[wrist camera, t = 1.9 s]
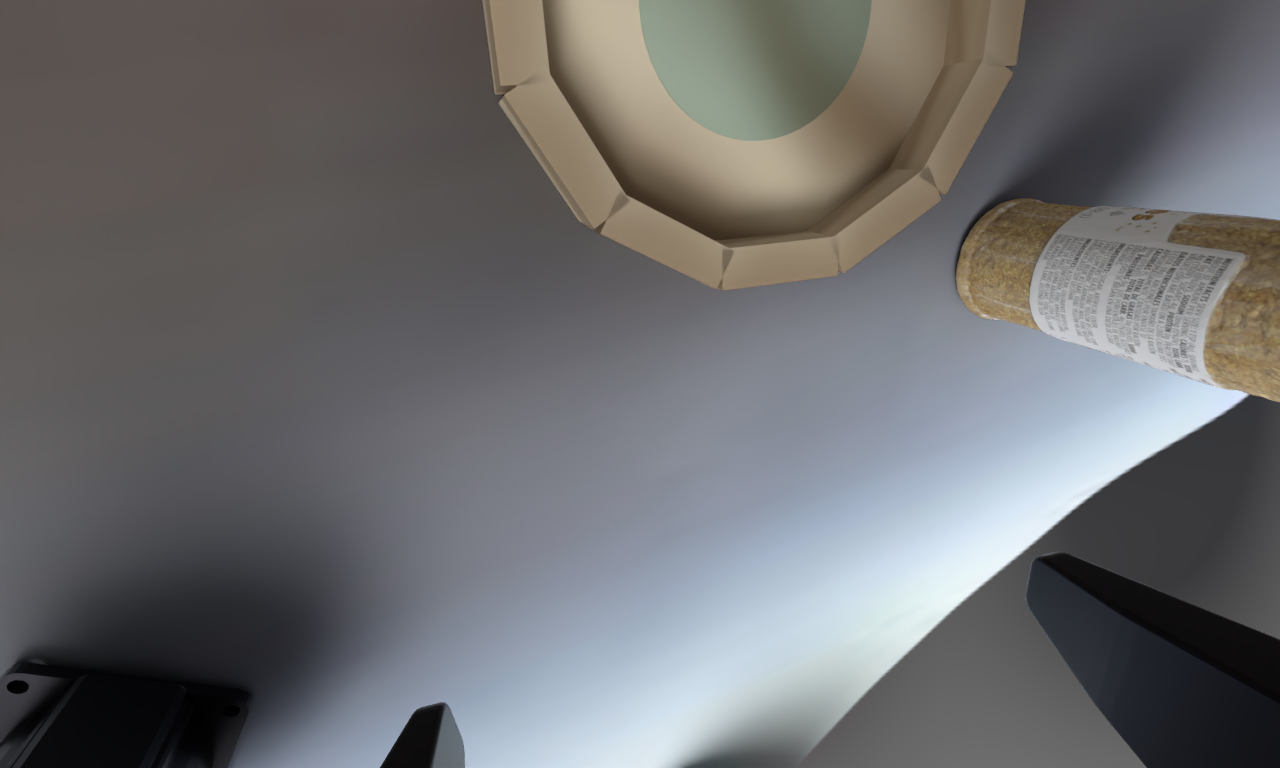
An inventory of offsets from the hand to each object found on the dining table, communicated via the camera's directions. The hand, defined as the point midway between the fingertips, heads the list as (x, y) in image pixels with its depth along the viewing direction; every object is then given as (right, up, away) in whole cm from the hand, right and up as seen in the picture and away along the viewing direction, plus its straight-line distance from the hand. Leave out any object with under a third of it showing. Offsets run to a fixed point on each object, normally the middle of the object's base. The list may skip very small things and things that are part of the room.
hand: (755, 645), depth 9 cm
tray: (+1, +15, +9) cm, 17 cm away
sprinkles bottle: (+12, +9, +14) cm, 20 cm away
